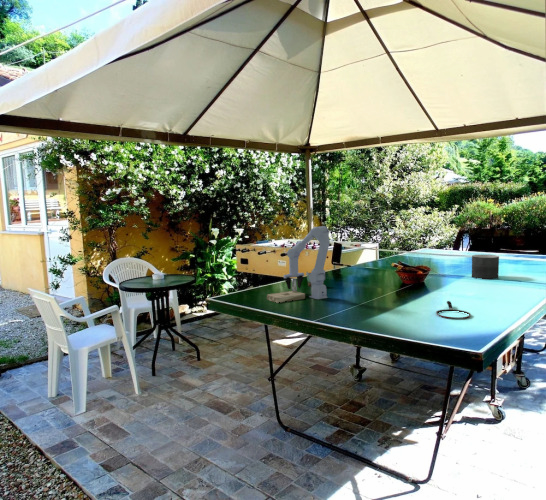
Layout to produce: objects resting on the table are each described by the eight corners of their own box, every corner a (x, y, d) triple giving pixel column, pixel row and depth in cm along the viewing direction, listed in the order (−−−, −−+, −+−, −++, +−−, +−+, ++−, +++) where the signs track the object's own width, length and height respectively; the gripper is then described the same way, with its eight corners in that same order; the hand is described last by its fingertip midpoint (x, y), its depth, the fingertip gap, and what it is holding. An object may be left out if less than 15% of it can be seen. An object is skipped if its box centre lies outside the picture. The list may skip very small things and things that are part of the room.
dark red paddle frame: (431, 306, 245) (431, 300, 244) (463, 306, 241) (463, 300, 240) (437, 319, 218) (437, 312, 217) (473, 320, 214) (473, 314, 213)
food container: (303, 286, 308) (303, 272, 307) (306, 285, 314) (306, 271, 313) (319, 287, 303) (319, 273, 302) (323, 286, 308) (322, 272, 307)
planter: (466, 276, 329) (466, 255, 328) (485, 274, 335) (486, 254, 333) (484, 280, 312) (484, 258, 311) (504, 278, 318) (504, 256, 316)
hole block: (304, 298, 271) (304, 293, 271) (276, 303, 261) (276, 298, 261) (294, 295, 282) (294, 290, 281) (267, 299, 272) (266, 294, 271)
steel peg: (297, 294, 285) (297, 278, 283) (293, 294, 283) (293, 279, 282) (295, 293, 287) (294, 278, 286) (291, 293, 286) (290, 278, 285)
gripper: (299, 265, 290) (300, 285, 292) (280, 267, 283) (281, 288, 285) (305, 266, 284) (306, 287, 286) (286, 269, 277) (287, 290, 279)
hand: (294, 288), depth 285 cm, fingers open, 7 cm apart
